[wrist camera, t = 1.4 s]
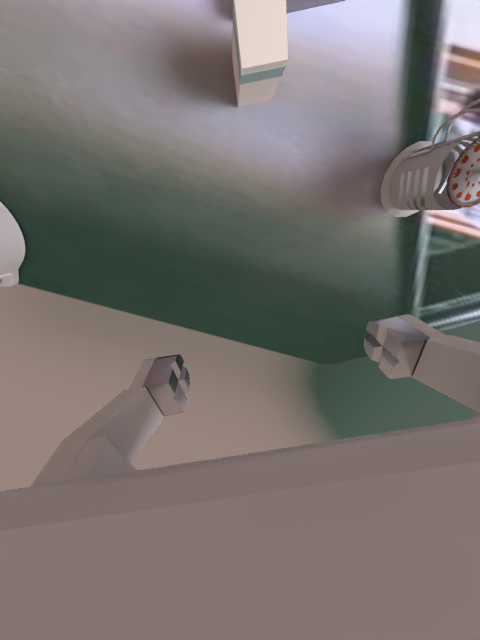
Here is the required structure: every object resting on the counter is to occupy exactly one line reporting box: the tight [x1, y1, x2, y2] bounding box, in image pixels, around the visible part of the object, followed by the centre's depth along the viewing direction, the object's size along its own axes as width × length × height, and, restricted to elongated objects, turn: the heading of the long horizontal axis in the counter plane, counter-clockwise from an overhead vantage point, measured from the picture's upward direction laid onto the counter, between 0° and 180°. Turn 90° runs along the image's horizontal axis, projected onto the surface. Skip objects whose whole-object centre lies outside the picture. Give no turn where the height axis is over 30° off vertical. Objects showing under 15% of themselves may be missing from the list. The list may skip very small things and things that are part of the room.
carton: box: [232, 0, 288, 107], centre depth 21 cm, size 4×4×8 cm
